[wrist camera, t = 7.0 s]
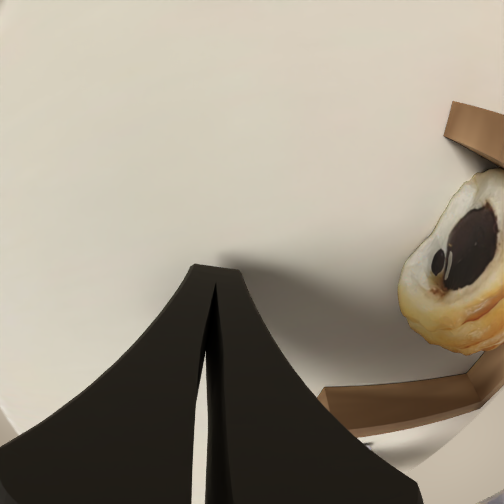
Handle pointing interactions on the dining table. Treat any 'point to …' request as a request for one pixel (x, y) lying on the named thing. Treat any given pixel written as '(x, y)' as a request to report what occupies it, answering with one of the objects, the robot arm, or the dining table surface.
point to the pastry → (460, 271)
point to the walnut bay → (441, 389)
